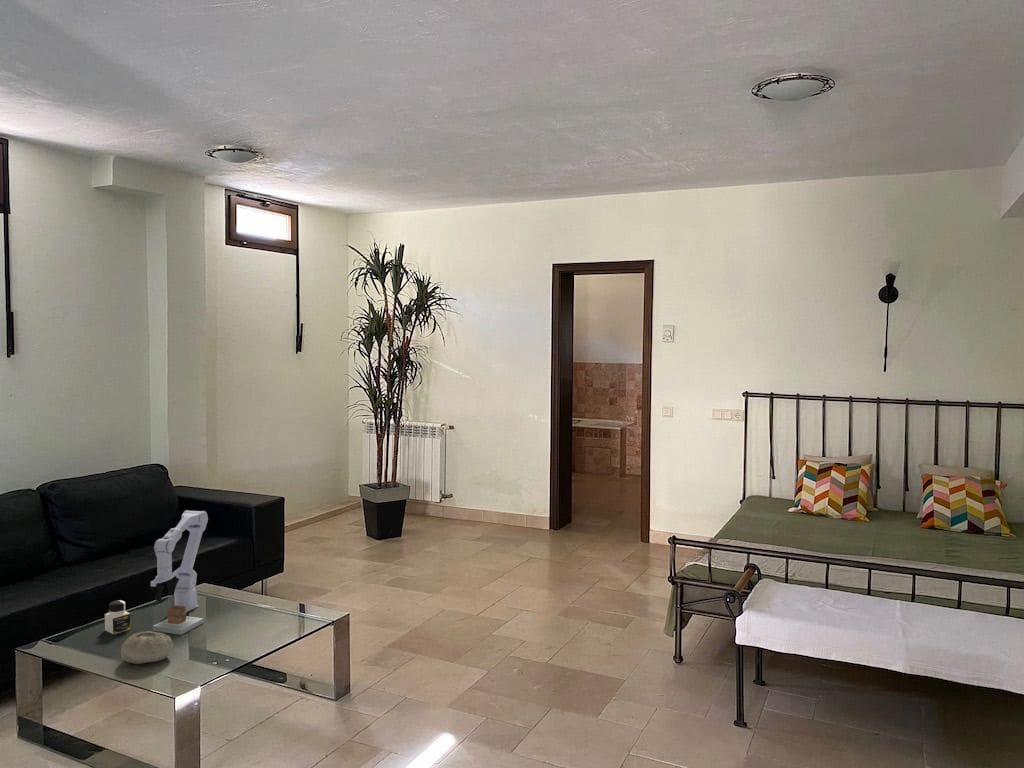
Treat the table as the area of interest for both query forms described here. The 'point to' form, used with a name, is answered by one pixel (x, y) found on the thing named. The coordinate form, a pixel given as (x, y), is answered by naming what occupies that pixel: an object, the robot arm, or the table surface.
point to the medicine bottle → (117, 618)
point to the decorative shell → (146, 647)
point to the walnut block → (176, 614)
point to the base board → (178, 625)
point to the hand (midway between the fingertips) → (164, 598)
